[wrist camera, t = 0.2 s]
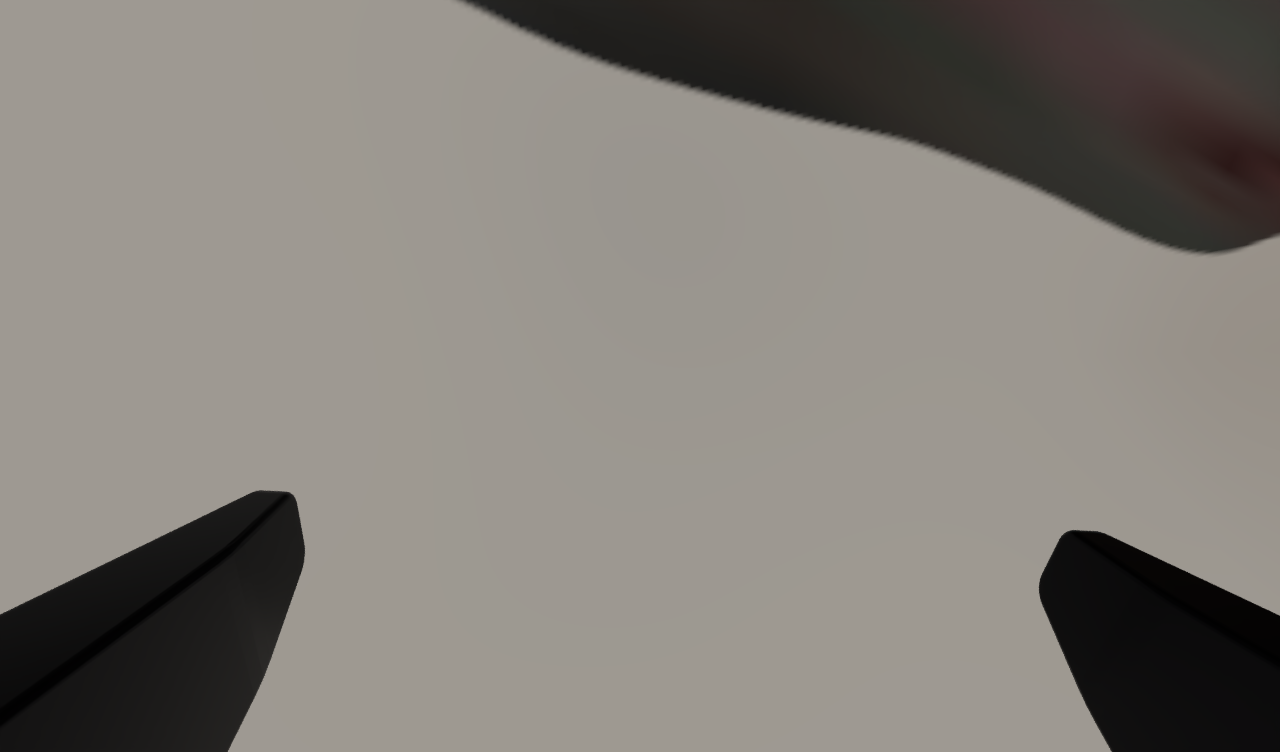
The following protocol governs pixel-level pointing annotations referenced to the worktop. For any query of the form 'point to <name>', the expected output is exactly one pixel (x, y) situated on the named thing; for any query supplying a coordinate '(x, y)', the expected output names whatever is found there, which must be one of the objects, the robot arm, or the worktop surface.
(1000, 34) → the worktop surface
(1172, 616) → the robot arm
